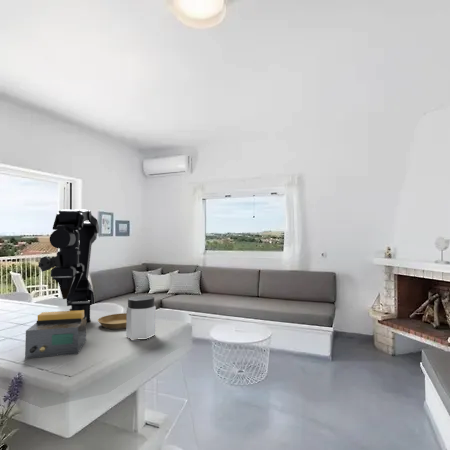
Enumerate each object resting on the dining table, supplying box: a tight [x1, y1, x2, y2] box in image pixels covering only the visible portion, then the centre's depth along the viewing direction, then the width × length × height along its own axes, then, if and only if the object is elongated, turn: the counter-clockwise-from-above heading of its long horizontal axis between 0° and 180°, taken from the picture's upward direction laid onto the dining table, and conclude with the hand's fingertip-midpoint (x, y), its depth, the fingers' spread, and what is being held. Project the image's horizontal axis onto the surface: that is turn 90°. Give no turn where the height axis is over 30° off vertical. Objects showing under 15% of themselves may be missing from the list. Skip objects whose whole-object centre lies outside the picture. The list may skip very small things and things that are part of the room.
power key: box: [37, 310, 84, 321], centre depth 91 cm, size 4×11×2 cm, turn 104°
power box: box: [24, 314, 87, 359], centre depth 88 cm, size 13×12×8 cm
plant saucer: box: [97, 312, 127, 330], centre depth 113 cm, size 15×15×3 cm
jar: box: [125, 295, 157, 340], centre depth 99 cm, size 9×8×12 cm
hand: (68, 296), depth 102 cm, fingers open, 9 cm apart
